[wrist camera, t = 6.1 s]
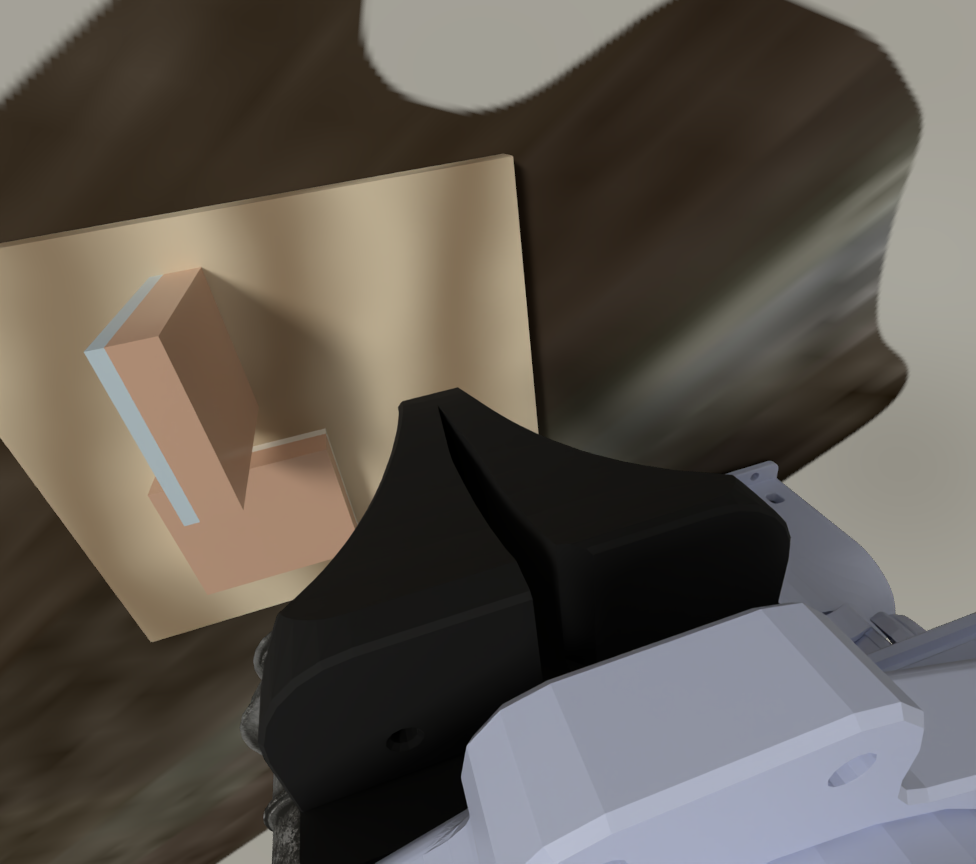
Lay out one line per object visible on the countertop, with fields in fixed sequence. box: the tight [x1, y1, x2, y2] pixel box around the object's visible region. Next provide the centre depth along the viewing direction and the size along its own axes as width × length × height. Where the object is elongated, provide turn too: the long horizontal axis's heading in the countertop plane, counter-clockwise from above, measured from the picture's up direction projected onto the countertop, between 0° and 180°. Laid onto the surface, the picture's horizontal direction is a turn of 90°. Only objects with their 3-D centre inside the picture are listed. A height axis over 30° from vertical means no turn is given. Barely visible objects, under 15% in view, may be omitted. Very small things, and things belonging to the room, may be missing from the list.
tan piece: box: [84, 267, 259, 526], centre depth 16 cm, size 2×5×6 cm, turn 7°
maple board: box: [0, 154, 538, 642], centre depth 21 cm, size 18×16×1 cm
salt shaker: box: [240, 631, 300, 864], centre depth 23 cm, size 6×6×12 cm
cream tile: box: [148, 428, 358, 595], centre depth 21 cm, size 2×5×6 cm
